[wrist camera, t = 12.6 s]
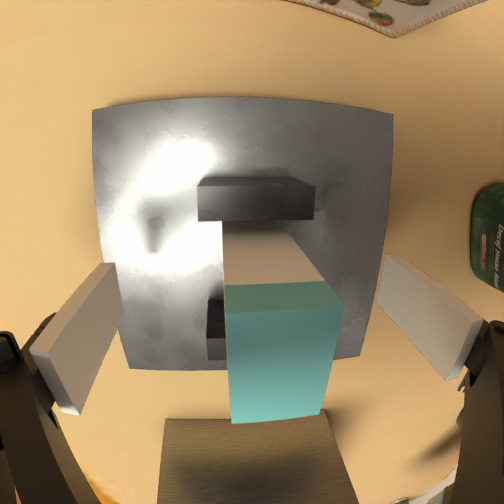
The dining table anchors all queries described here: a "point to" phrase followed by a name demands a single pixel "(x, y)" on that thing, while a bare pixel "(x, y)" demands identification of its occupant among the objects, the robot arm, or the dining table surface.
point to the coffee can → (400, 501)
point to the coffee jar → (489, 236)
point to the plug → (275, 324)
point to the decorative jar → (391, 12)
